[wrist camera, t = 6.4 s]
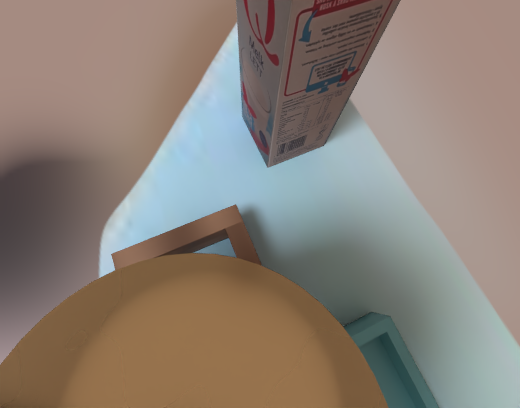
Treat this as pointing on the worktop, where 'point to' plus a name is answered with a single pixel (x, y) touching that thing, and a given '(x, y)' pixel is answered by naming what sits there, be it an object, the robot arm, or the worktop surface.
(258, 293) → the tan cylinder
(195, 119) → the worktop surface
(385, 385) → the teal tray
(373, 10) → the juice carton
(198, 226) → the brown square frame
